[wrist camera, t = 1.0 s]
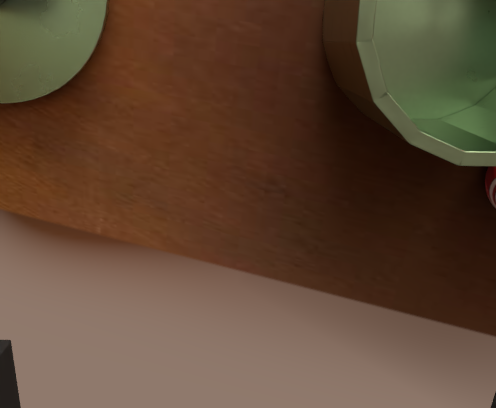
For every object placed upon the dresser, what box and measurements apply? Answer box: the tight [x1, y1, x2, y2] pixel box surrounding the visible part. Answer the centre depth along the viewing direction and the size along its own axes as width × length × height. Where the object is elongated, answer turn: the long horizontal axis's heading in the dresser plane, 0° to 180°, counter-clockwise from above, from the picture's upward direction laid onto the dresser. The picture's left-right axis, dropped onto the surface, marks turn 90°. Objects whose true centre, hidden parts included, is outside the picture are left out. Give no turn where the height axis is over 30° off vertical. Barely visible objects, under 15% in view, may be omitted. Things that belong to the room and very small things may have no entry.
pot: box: [322, 0, 496, 166], centre depth 26 cm, size 15×15×10 cm
